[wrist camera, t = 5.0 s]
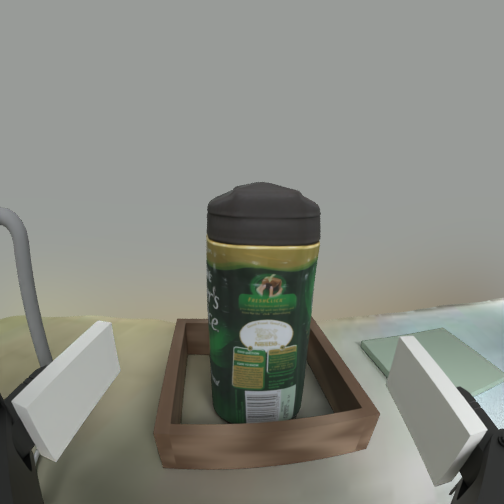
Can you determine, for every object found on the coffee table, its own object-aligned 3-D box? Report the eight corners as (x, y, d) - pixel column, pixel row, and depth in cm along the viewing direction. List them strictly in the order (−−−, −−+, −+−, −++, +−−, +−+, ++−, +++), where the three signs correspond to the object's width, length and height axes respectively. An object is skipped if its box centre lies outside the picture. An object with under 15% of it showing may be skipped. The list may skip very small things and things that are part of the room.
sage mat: (441, 332, 36) (442, 327, 35) (504, 380, 22) (507, 375, 22) (360, 346, 34) (361, 340, 34) (421, 418, 20) (424, 411, 20)
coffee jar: (214, 366, 30) (212, 181, 26) (289, 366, 30) (302, 184, 26) (207, 432, 20) (198, 180, 16) (307, 429, 21) (338, 186, 17)
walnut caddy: (307, 345, 34) (311, 315, 33) (366, 448, 18) (380, 413, 17) (179, 349, 32) (177, 318, 32) (163, 467, 16) (153, 433, 15)
